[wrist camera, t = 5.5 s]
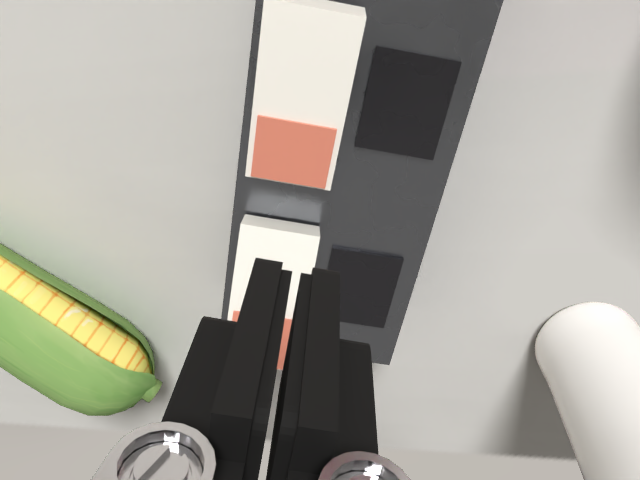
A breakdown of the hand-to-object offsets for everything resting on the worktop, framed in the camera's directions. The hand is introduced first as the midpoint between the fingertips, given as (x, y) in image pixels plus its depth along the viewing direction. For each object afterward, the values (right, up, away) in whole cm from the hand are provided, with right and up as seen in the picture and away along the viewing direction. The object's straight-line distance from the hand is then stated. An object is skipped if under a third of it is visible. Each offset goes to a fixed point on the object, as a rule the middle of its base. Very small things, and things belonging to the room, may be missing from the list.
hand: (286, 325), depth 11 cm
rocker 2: (-1, 0, +11) cm, 11 cm away
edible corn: (-16, +1, +17) cm, 23 cm away
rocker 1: (0, +6, +7) cm, 9 cm away
